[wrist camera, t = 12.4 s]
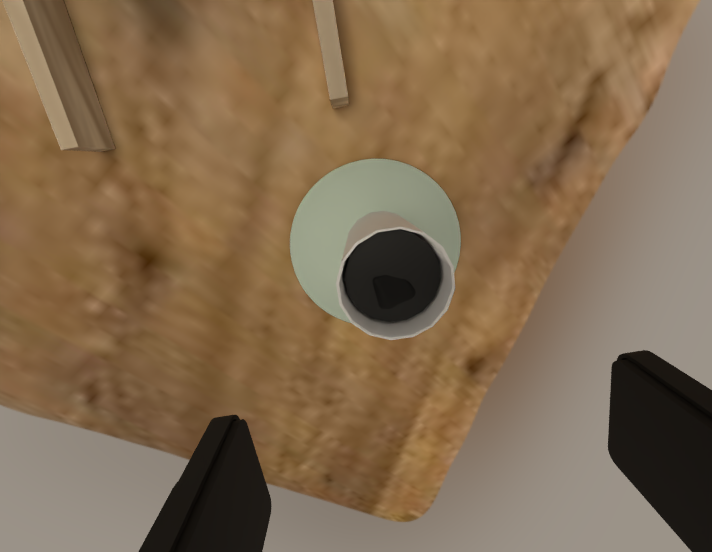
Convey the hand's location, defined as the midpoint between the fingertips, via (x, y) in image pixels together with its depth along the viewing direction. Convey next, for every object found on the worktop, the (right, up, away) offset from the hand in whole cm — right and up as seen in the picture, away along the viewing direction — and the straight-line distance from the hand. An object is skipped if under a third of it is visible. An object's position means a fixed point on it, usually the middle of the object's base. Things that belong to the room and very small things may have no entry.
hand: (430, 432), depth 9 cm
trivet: (0, +6, +21) cm, 22 cm away
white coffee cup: (0, +6, +21) cm, 22 cm away
